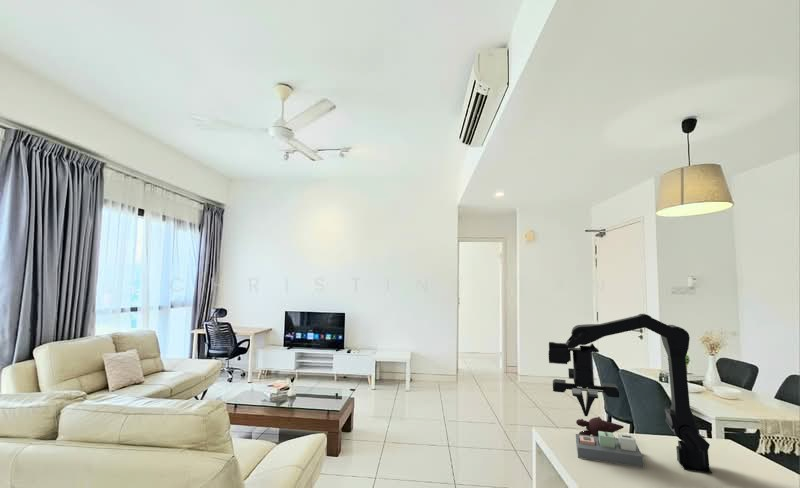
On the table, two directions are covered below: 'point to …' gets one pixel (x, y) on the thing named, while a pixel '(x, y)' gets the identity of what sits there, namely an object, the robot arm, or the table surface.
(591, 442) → the key coral
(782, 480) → the table surface
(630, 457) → the keypad
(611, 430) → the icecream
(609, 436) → the key sage
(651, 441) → the table surface
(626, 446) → the key ivory
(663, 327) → the robot arm
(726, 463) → the table surface
